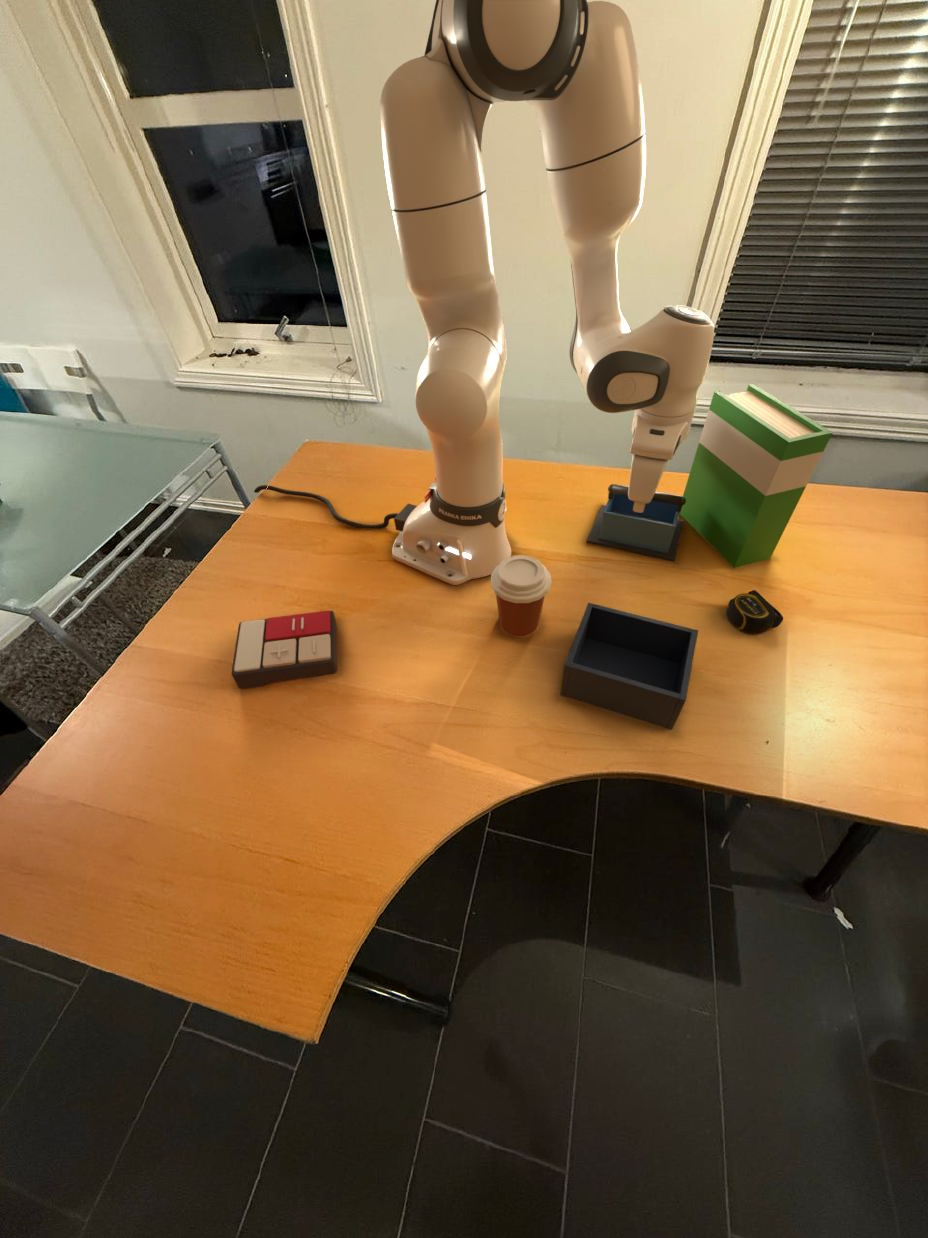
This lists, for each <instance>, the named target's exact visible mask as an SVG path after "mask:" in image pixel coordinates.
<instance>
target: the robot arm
mask: <svg viewBox="0 0 928 1238" xmlns="http://www.w3.org/2000/svg"><path fill="white" fill-rule="evenodd" d="M640 73H641V72H640V66H639V61H638V54H637V48H636V42H635V38H634V33H633V28H632V26H631V22H630V19H629V17H628V15H627V13H626V12H625V11H624V9H622V7H620V6H619V5H618V4H616V3H613V2H611V1H605V0H593V1H588V0H435V4H434V10H433V13H432V19H431V23H430V28H429V33H428V37H427V42H426V46H425V51H424V55H422V56H420V57H416V58H412V59H409V60H408V61H406V62H404V63H402V64H401V65H399V66H398V67H397V68H396V69H395V70H393V71H392V73H391V74H390V76H388V77H387V80H386V81H385V83H384V85H383V87H382V90H381V94H380V99H379V114H380V115H379V116H380V117H379V118H380V134H381V144H382V145H381V146H382V156H383V164H384V172H385V179H386V186H387V192H388V198H389V203H390V208H391V213H392V218H393V223H394V228H395V234H396V237H397V238H396V239H397V243H398V248H399V252H400V258H401V262H402V269H403V272H404V273H403V274H404V278H405V283H406V285H407V288H408V290H409V292H410V294H412V296H413V297H414V299H415V301H416V304H417V307H418V309H419V311H420V312H419V313H420V314H421V318H422V319H423V322H424V326H425V329H426V333H427V341H428V346H427V353H426V356H425V357H424V360H423V362H422V364H421V365H420V367H419V370H418V371H417V372H418V373H417V376H416V381H415V382H416V383H415V409H416V412H417V415H418V417H419V419H420V421H421V423H422V424H423V426H424V427H425V428H426V432H427V435H428V437H429V441H430V444H431V449H432V454H433V462H434V473H435V477H434V482H432V483H431V484H430V486H429V487H428V491H427V492H426V493H425V495H424V497H423V499H424V501H422V502H420V503H419V504H418V505H417V504H411V503H407V504H406V505H405V506H404V507H403V508H402V509H401V511H399V512H392V513H388V514H386V515H385V516H384V518H383V522H381V523H376V524H367V523H360V522H356V521H353V520H350V519H347V518H344V517H342V516H340V515H339V513H337V511H336V509H335V508H334V506H333V504H332V503H331V502H330V501H329V499H327V498H325V497H324V496H323V495H320V494H316V493H312V492H307V491H300V490H292V489H291V490H290V489H286V488H285V489H284V488H281V487H277V486H274V485H269V484H261V485H258V486H257V487H255V489H254V490H253V492H254V493H256V494H257V493H260V492H261V491H263V490H264V491H265V490H267V491H272V492H275V493H280V494H284V495H288V496H297V497H298V496H299V497H305V498H311V499H316V500H318V501H320V502H322V503H323V504H324V505H326V507H327V509H328V511H329V513H330V514H331V516H332V517H333V518H334V519H335V520H337V521H338V522H340V523H342V524H345V525H347V526H350V527H353V528H358V529H375V530H376V529H378V530H381V529H385V528H386V527H388V526H389V524H390V520H392V519H393V522H394V525H395V526H394V527H395V531H399V533H398V535H397V536H396V538H395V540H394V542H393V544H392V548H391V551H392V558H393V559H394V560H395V561H397V562H399V563H401V564H404V565H406V566H408V567H411V568H413V569H415V570H418V571H420V572H421V573H424V574H426V575H429V576H431V577H433V578H435V579H438V580H440V581H442V582H444V583H447V584H449V585H451V586H459V585H462V584H464V583H466V582H468V581H470V580H474V579H479V578H484V577H488V576H491V574H492V573H493V571H494V569H495V568H496V567H497V566H498V565H500V563H501V562H502V561H503V560H505V559H506V558H508V557H512V547H511V544H510V542H509V539H508V535H507V529H506V524H505V523H506V522H505V517H506V512H507V500H506V499H507V498H506V486H505V483H504V444H503V439H502V434H501V433H502V432H501V421H500V395H501V387H502V383H503V377H504V372H505V368H506V364H507V359H508V348H507V340H506V333H505V325H504V317H503V311H502V306H501V301H500V295H499V291H498V285H497V280H496V274H495V266H494V257H493V247H492V237H491V226H490V218H489V207H488V206H489V205H488V197H487V196H488V195H487V187H486V176H485V170H484V163H483V155H482V152H483V138H484V137H483V135H484V130H485V129H484V128H485V125H486V120H487V118H488V114H489V112H490V110H491V109H492V107H493V105H494V103H504V102H523V101H525V102H526V103H527V104H528V105H529V107H530V108H531V110H532V113H533V114H534V117H535V119H536V122H537V125H538V129H539V132H540V134H541V142H542V144H541V145H542V152H543V160H544V168H545V174H546V179H547V180H546V181H547V186H548V190H549V195H550V200H551V203H552V207H553V208H552V209H553V212H554V216H555V218H556V219H555V220H556V223H557V225H558V228H559V230H560V233H561V237H562V239H563V241H564V243H565V246H566V249H567V252H568V256H569V259H570V268H571V275H572V285H573V286H572V287H573V295H574V304H575V305H574V306H575V322H574V327H573V331H572V335H571V339H570V343H569V361H570V364H571V366H572V368H573V370H574V372H575V373H576V375H577V376H578V378H579V380H580V382H581V385H582V388H583V389H584V391H585V394H586V396H587V398H588V399H589V401H590V403H591V405H592V406H593V407H595V408H596V409H597V410H599V411H601V412H604V413H609V414H618V413H625V412H631V411H634V415H633V419H632V423H631V442H630V446H629V447H630V448H629V453H630V454H631V455H632V458H631V465H630V472H629V480H628V486H629V487H628V498H629V500H631V501H634V506H633V511H634V512H639V513H642V512H643V511H644V508H645V504H646V503H650V502H651V500H652V498H653V496H654V494H655V491H657V489H658V486H659V484H660V482H661V479H662V477H663V474H664V471H665V469H666V467H667V464H668V463H669V461H672V460H673V457H674V456H675V454H676V452H677V450H678V448H679V446H680V445H681V444H682V443H683V441H685V440H686V439H687V438H688V436H689V433H690V429H691V426H692V422H693V419H694V417H695V413H696V408H697V406H698V405H697V403H698V392H699V390H700V387H701V386H702V384H703V382H704V381H705V378H706V375H707V370H708V368H709V363H710V359H711V355H712V351H713V344H714V337H715V325H714V323H713V320H711V318H710V317H709V316H708V315H707V314H705V312H702V311H701V310H699V309H697V308H694V307H692V306H686V305H681V304H672V305H667V306H664V307H662V308H661V310H660V311H659V312H658V313H656V315H655V316H654V317H652V318H650V319H649V320H647V321H646V322H644V324H641V325H639V326H638V327H636V328H635V329H631V327H630V325H629V323H628V322H627V320H626V319H625V317H624V315H623V313H622V311H621V308H620V301H619V299H620V298H619V277H618V256H617V255H618V245H619V241H620V237H621V235H622V234H623V232H624V231H626V229H628V228H629V227H630V225H631V224H632V222H633V221H634V220H635V218H636V217H637V215H638V213H639V211H640V209H641V207H642V204H643V198H644V189H645V182H646V181H645V180H646V169H647V167H646V166H647V143H646V142H647V141H646V140H647V139H646V124H645V123H646V121H645V108H644V107H645V106H644V97H643V88H642V87H643V86H642V80H641V74H640ZM268 485H269V486H268ZM267 486H268V488H267ZM266 488H267V489H266Z"/></svg>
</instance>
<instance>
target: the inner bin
mask: <svg viewBox="0 0 928 1238" xmlns="http://www.w3.org/2000/svg"><path fill="white" fill-rule="evenodd" d="M628 487H629V485H622V484H617V483H612V484H610V485H609V486H608V487H607V491H608V495H607V499H608V500H607V502H606V504H605V506H606V507H605V509H604V512H603V517H602V522H601V528H600V534H599V539H603V540H608V541H613V542H617V543H622V544H627V545H632V546H636V547H641V548H646V549H650V550H655V551H660V552H665V553H668V551H669V548H670V545H671V541H672V538H673V535H674V531H675V528H676V525H677V521H678V520H679V516H680V512H681V509H682V506H683V505H684V504H685V503H686V499H685V498H684V497H683V495H679V494H673V493H666V492H661V491H657V490H656V491H655V494H654V496H653V498H652V500H651V502H650V503H646V504H645V508H644V511H643V512H642V513H639V512H634V511H633V506H634V501H631V500H629V498H628Z"/></svg>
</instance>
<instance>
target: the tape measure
mask: <svg viewBox="0 0 928 1238" xmlns="http://www.w3.org/2000/svg"><path fill="white" fill-rule="evenodd" d="M725 614H726V617H727V620H728V622H729V623H730V624H731V625H732V626H733V627H734V628H736V629H737V630H739V631H741V632H743V633H746V634H751V635H758V634H763V633H765V632H767V631H769V630H770V629H771V630H772V629H775V628H778V627H779V626H780V625H782V623H783V622H784V621H783V620H784V616H783V614H782V613H781V612H780V611H779V610H778V609H776V607H774V606H773V605H772V604H771V603H770V602H769V601H768V600H766V598H764V597H763V595H761V593H760V592H759V591H757V590H756V589H752V590H750V591H748V592H743V593H739V594H737V595H736V596H734V597H732V598H730V599H729V601H728V607H727V609H726V613H725Z"/></svg>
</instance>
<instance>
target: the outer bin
mask: <svg viewBox="0 0 928 1238" xmlns="http://www.w3.org/2000/svg"><path fill="white" fill-rule="evenodd" d="M698 634H699V630H698V629H694V628H691V627H687V626H683V625H679V624H675V623H671V622H667V621H663V620H660V619H656V618H651V617H649V616H644V615H640V614H637V613H636V614H635V613H633V612H632V613H631V612H628V611H624V610H621V609H616V608H612V607H608V606H604V605H600V604H596V603H592V602H587V605H586V607H585V610H584V612H583V614H582V617H581V620H580V623H579V625H578V628H577V631H576V634H575V635H574V639H573V642H572V644H571V646H570V650H569V652H568V655H567V658H566V659H565V664H564V667H563V673H562V675H563V676H562V680H561V687H560V693H559V694H560V696H562V697H566V698H569V699H573V700H575V701H579V702H582V703H585V704H588V705H591V706H594V707H598V708H601V709H604V710H608V711H610V712H614V713H616V714H620V715H623V716H626V717H629V718H633V719H636V720H640V721H642V722H646V723H648V724H653V725H655V726H658V727H662V728H665V729H668V730H671V731H672V730H673V729H674V727H675V725H676V722H677V720H678V718H679V716H680V714H681V712H682V711H683V707H684V705H685V704H686V701H687V697H688V696H687V695H688V690H689V685H690V681H691V674H692V668H693V662H694V657H695V653H696V651H695V650H696V646H697V645H696V644H697V640H698Z"/></svg>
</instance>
